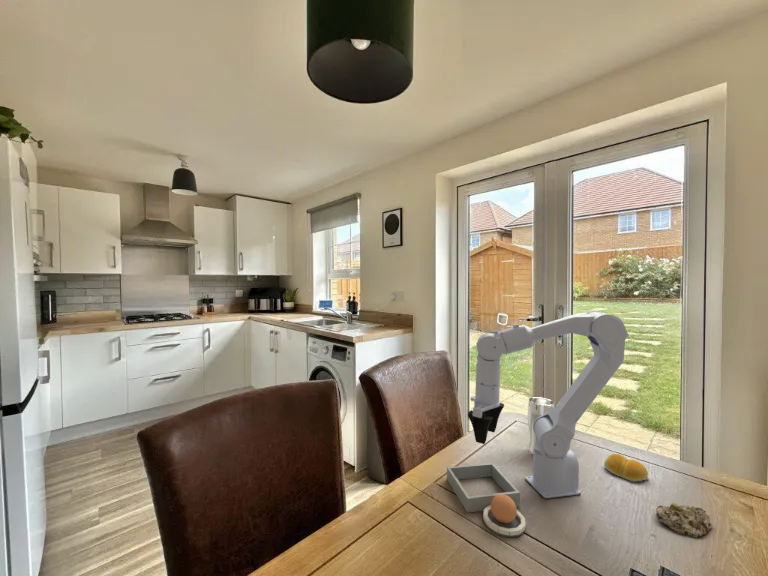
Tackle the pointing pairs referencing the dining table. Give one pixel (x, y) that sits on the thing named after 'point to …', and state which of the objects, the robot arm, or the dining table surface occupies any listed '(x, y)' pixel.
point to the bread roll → (626, 468)
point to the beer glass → (536, 415)
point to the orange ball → (503, 508)
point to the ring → (504, 524)
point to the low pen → (474, 472)
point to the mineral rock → (685, 519)
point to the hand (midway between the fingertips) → (485, 436)
